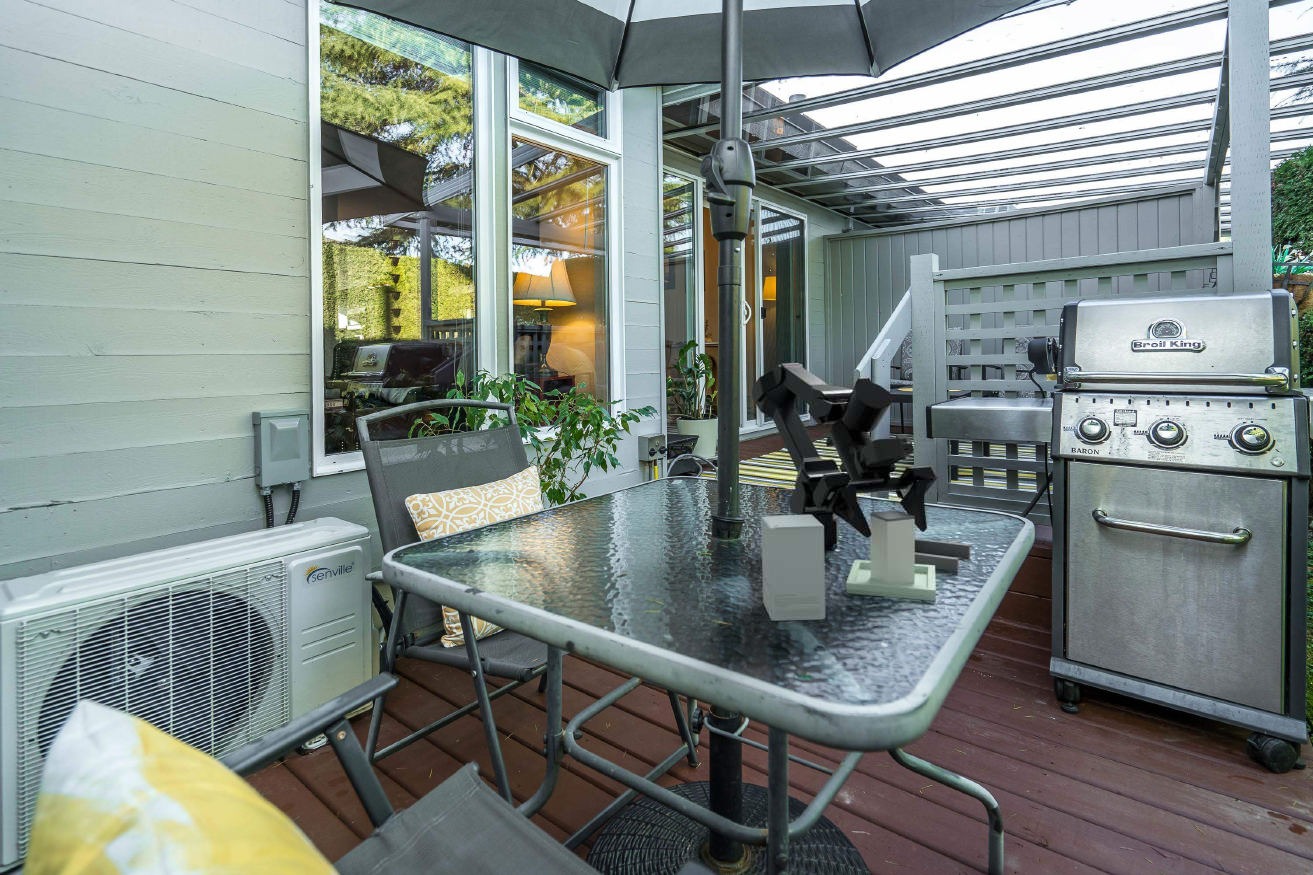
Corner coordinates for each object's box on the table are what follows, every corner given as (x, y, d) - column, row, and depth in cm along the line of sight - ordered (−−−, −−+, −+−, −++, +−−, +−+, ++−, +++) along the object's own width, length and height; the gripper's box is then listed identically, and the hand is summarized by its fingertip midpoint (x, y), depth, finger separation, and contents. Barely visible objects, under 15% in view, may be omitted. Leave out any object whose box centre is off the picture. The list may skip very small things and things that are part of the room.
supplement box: (826, 620, 86) (825, 525, 85) (770, 621, 87) (767, 527, 85) (814, 600, 94) (813, 513, 92) (762, 602, 94) (760, 515, 93)
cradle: (892, 563, 109) (892, 551, 109) (908, 548, 117) (908, 537, 117) (957, 571, 103) (957, 559, 103) (970, 555, 111) (970, 544, 111)
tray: (846, 592, 96) (846, 582, 96) (854, 568, 107) (854, 559, 107) (935, 600, 91) (935, 590, 91) (934, 574, 102) (935, 565, 102)
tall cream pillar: (870, 577, 101) (870, 512, 100) (896, 573, 102) (896, 510, 101) (887, 586, 96) (887, 519, 95) (914, 582, 98) (914, 516, 97)
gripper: (820, 421, 98) (861, 508, 89) (929, 414, 103) (979, 496, 93) (797, 466, 107) (832, 550, 97) (899, 458, 111) (942, 537, 102)
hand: (897, 533), depth 97 cm, fingers open, 9 cm apart
